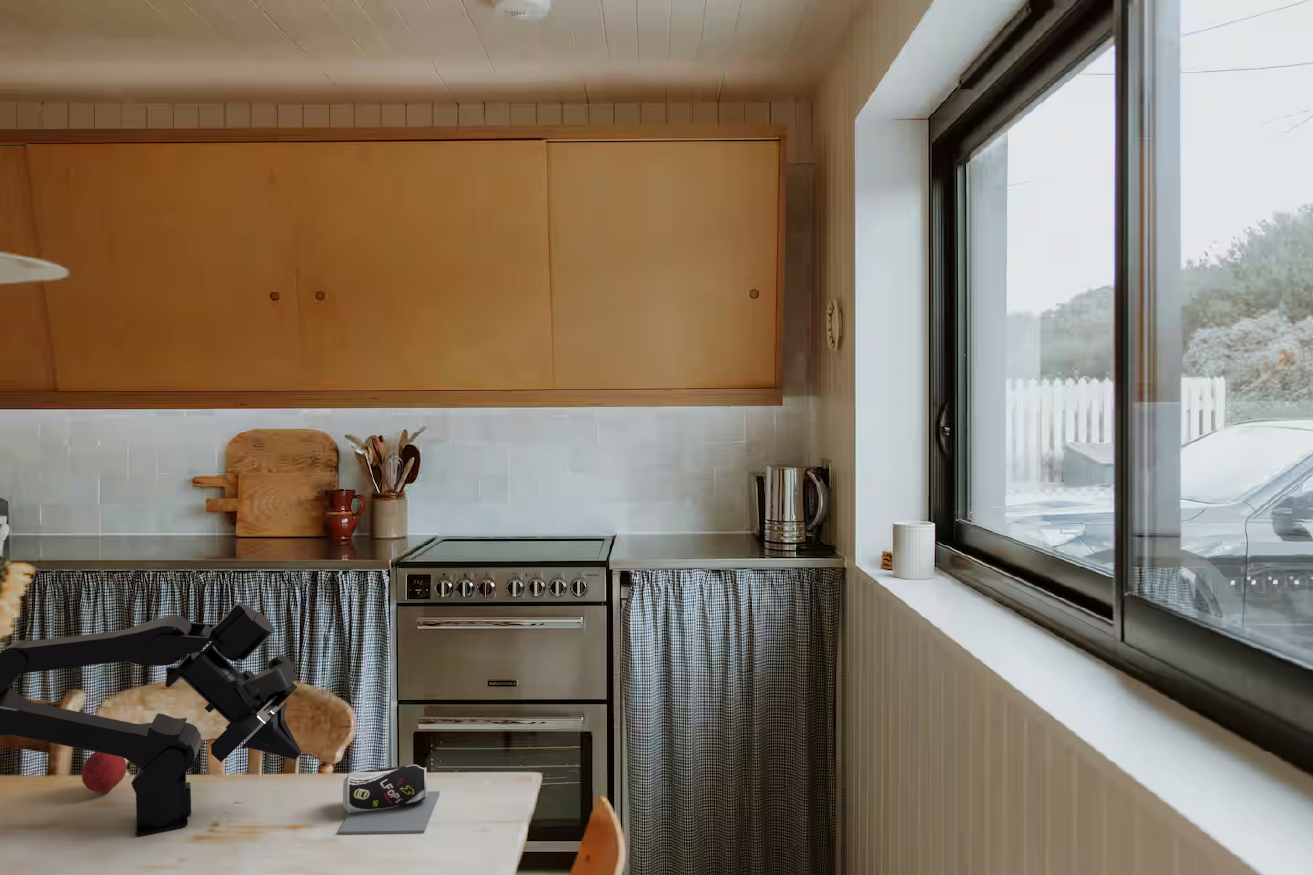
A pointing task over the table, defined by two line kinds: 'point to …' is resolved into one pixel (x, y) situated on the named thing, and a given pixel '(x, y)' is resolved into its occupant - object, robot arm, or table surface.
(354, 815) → the mat
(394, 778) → the beverage can
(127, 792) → the table surface
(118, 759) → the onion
